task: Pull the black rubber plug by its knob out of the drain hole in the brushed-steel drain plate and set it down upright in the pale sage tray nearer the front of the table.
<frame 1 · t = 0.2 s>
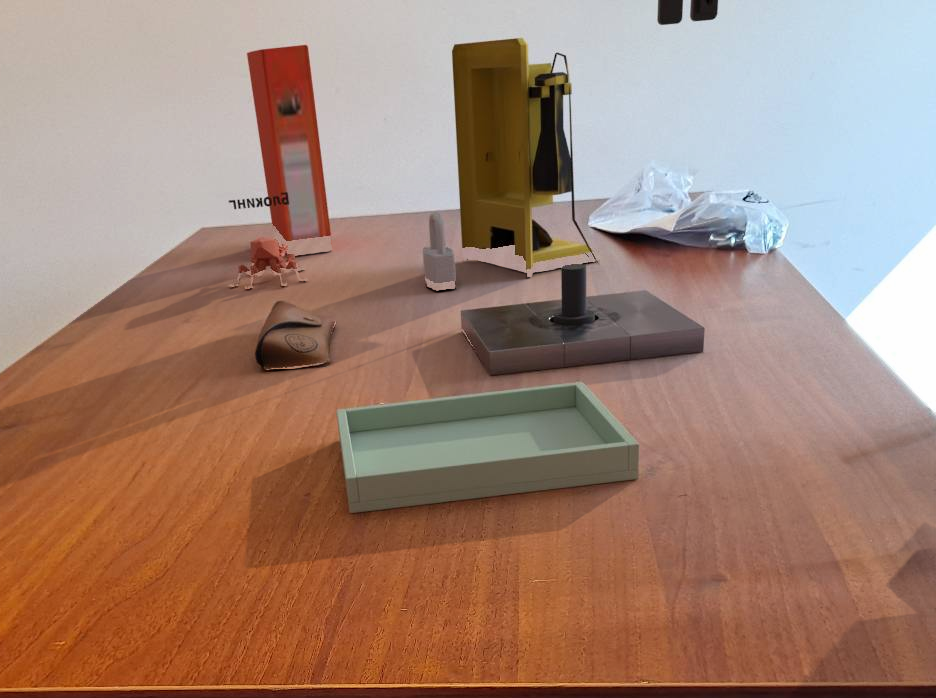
hand: (685, 22, 90), 30 cm above the table, tool pointing down, fingers open, 8 cm apart
beetle: (272, 279, 151), on the table
padlock: (440, 288, 136), on the table
file binder: (302, 248, 175), on the table
vintage telephone: (537, 264, 145), on the table
drain plate: (574, 341, 106), on the table
tray: (476, 457, 79), on the table
plug: (573, 304, 104), in the hole of the drain plate
sunglasses case: (299, 348, 114), on the table
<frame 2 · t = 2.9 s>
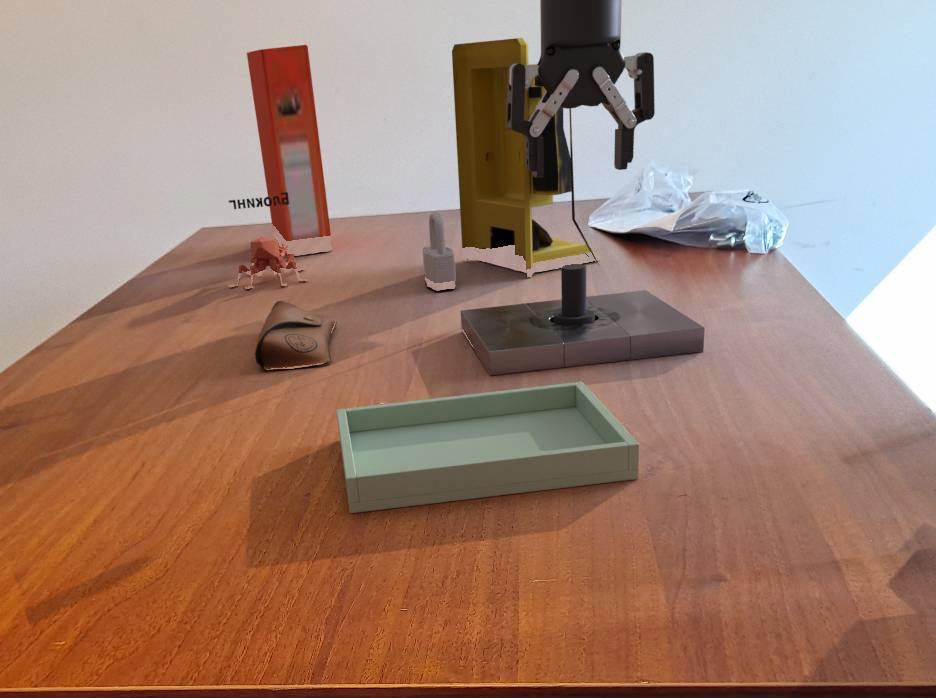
hand: (579, 172, 98), 17 cm above the table, tool pointing down, fingers open, 8 cm apart
nothing on the table moved.
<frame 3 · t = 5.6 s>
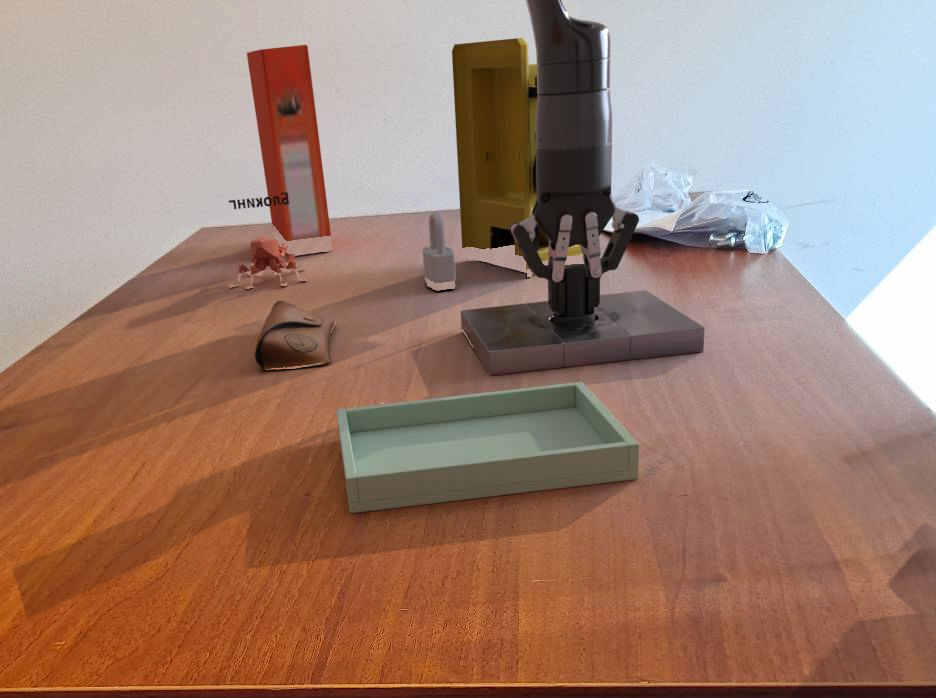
hand: (574, 312, 105), 3 cm above the table, tool pointing down, fingers closed on plug, 2 cm apart
plug: (573, 304, 104), in the hole of the drain plate, touching gripper
everything else where it was.
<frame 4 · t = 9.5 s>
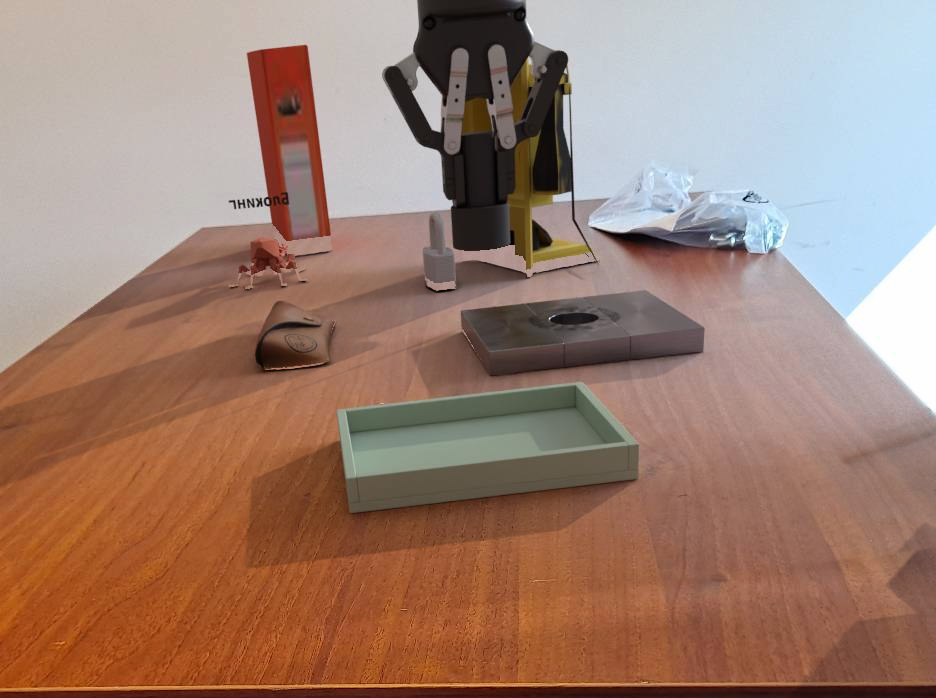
hand: (480, 203, 73), 19 cm above the table, tool pointing down, fingers closed on plug, 2 cm apart
plug: (479, 190, 73), point 20 cm above the table, touching gripper
everything else where it was.
when the fingers open (4 cm above the table, at t = 13.5 s): plug stays where it is, resting on tray.
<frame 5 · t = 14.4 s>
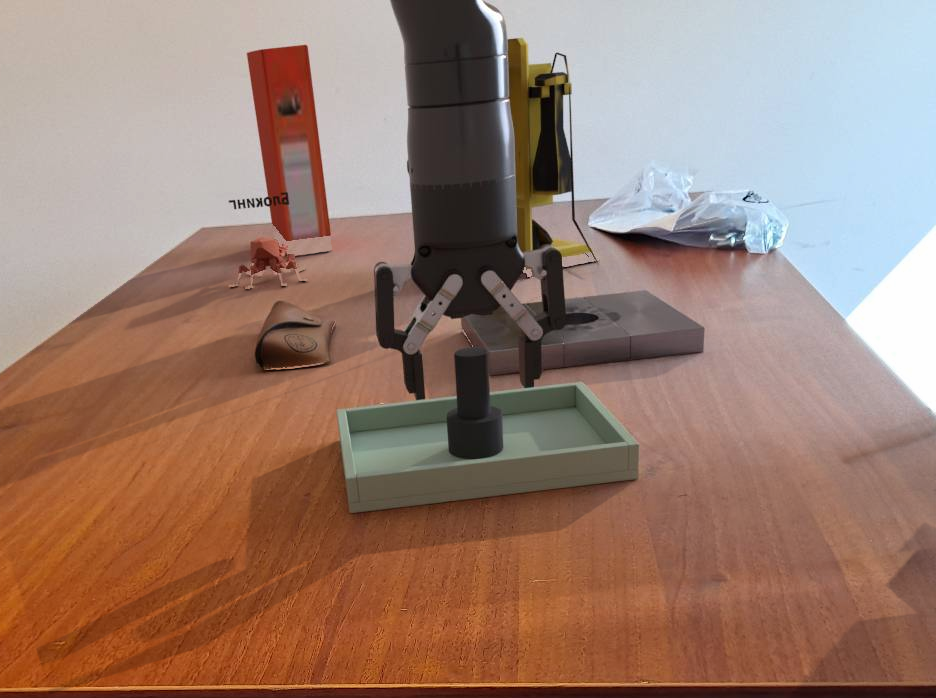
hand: (473, 391, 76), 6 cm above the table, tool pointing down, fingers open, 8 cm apart
plug: (473, 401, 76), in the tray, point 5 cm above the table
everything else where it was.
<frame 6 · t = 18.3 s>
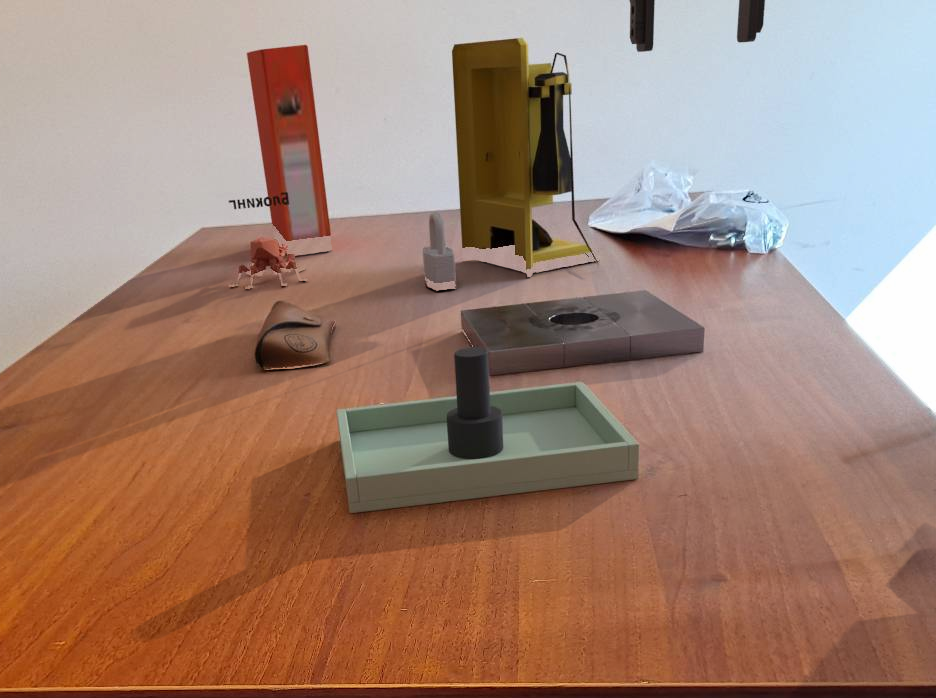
hand: (695, 46, 80), 28 cm above the table, tool pointing down, fingers open, 8 cm apart
nothing on the table moved.
at the end: plug inside the target area in the tray (0.1 cm from its centre), point 4.8 cm above the tray's base; plug tilted 0°; the gripper is holding nothing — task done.
